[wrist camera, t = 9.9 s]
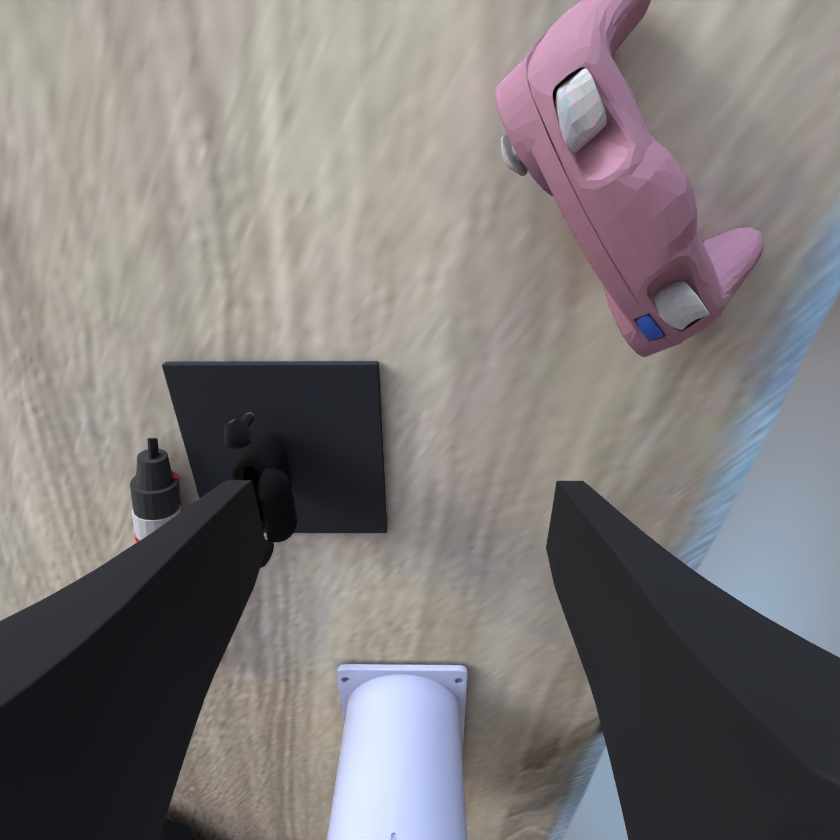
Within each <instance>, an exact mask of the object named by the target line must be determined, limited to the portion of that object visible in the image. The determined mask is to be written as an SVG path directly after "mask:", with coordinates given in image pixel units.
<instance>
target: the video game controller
mask: <svg viewBox="0 0 840 840" xmlns="http://www.w3.org/2000/svg"><path fill="white" fill-rule="evenodd" d="M650 1H651V0H583V1H581V2H580V3H578V4H577V5H576V6H574V7H573V8H571V9H570V10H568V11H567V12H565V13H564V14H563V15H562V16H561V17H560V18H559V19H558V20H557V21H556V22H555V23H554V24H553V25H552V26H551V27H550V29H549V30H548V31H547V32H546V33H545V35H544V36H543V37H542V38H541V39H540V40H539V42H538V43H537V44H536V45H535V46H534V47H533V49H532V50H531V51H530V52H529V53H528V55H527V56H526V57H525V58H524V59H523V60H522V61H521V62H520V63H519V64H518V65H517V66H516V67H515V68H514V69H513V70H512V72H511V73H510V74H509V75H508V76H507V77H506V78H505V79H504V80H503V81H502V82H501V83H500V84H499V85H498V86H497V88H496V103H497V106H498V109H499V112H500V116H501V119H502V122H503V125H504V128H505V131H506V134H507V136H506V135H504V136H503V137H502V138H501V149H502V155H503V159H504V161H505V163H506V164H507V166H508V167H509V168H510V169H511V170H513V171H514V172H515V173H518V174H519V175H521V176H524V175H526V174H527V170H528V171H529V173H530V174H531V175H532V177H533V178H534V179H535V180H536V182H537V183H538V184H539V185H540V186H541V187H542V188H543V189H544V190H545V191H546V192H547V193H549V194H550V195H551V196H553V197H554V198H555V200H556V202H557V204H558V206H559V208H560V210H561V212H562V214H563V216H564V218H565V220H566V222H567V224H568V225H569V227H570V229H571V231H572V233H573V234H574V236H575V238H576V240H577V241H578V243H579V245H580V247H581V249H582V250H583V252H584V254H585V256H586V257H587V259H588V261H589V262H590V264H591V266H592V267H593V269H594V270H595V272H596V274H597V275H598V277H599V279H600V280H601V282H602V284H603V287H604V290H605V294H606V297H607V300H608V303H609V307H610V309H611V311H612V314H613V316H614V319H615V321H616V323H617V325H618V327H619V329H620V332H621V334H622V335H623V337H624V338H625V340H626V341H627V343H628V344H629V346H630V347H631V348H632V349H633V350H634V351H635V352H636V353H637V354H639V355H640V356H643V357H646V356H649V355H651V354H654V353H657V352H659V351H662V350H665V349H667V348H670V347H673V346H675V345H678V344H680V343H682V342H683V341H684V340H686V339H688V338H690V337H691V336H693V335H695V334H697V333H699V332H700V331H702V330H704V329H705V328H706V327H708V326H709V325H710V324H712V323H713V322H714V321H715V320H716V319H717V318H718V317H719V316H720V314H721V313H722V311H723V310H724V308H725V306H726V305H727V303H728V302H729V300H730V298H731V297H732V295H733V294H734V293H735V291H736V290H737V289H738V287H739V286H740V285H741V283H742V282H743V281H744V279H745V278H746V277H747V275H748V274H749V273H750V271H751V270H752V269H753V267H754V266H755V264H756V263H757V261H758V260H759V258H760V256H761V254H762V251H763V238H762V234H761V232H760V231H757V230H755V229H752V228H748V227H741V228H736V229H733V230H730V231H727V232H725V233H723V234H719V235H717V236H714V237H712V238H710V239H708V240H706V241H704V242H702V240H701V238H700V236H699V233H698V229H697V209H696V204H695V199H694V194H693V190H692V187H691V185H690V182H689V180H688V177H687V175H686V172H685V171H684V170H683V168H682V167H681V166H680V165H679V163H678V162H677V161H676V159H675V158H674V157H673V156H672V154H671V153H670V152H669V151H668V150H667V149H666V148H665V147H664V146H662V145H661V144H660V143H659V142H658V141H657V140H656V139H655V138H653V137H652V134H651V132H650V130H649V128H648V126H647V124H646V121H645V119H644V117H643V115H642V113H641V111H640V109H639V106H638V104H637V102H636V100H635V98H634V96H633V94H632V91H631V90H630V88H629V86H628V84H627V83H626V81H625V79H624V77H623V76H622V74H621V72H620V70H619V69H618V67H617V65H616V64H615V62H614V60H613V58H612V57H613V55H614V53H615V52H616V50H617V48H618V47H619V46H620V45H621V43H622V42H623V41H624V40H625V38H626V37H627V36H628V35H629V34H630V32H631V31H632V30H633V29H634V27H635V26H636V25H637V24H638V23H639V21H640V20H641V19H642V18H643V16H644V15H645V13H646V11H647V9H648V6H649V4H650Z"/></svg>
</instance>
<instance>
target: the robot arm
mask: <svg viewBox="0 0 840 840" xmlns="http://www.w3.org/2000/svg"><path fill="white" fill-rule="evenodd" d="M265 549H266V543H265V539H264V534H263V529H262V525H261V520H260V515H259V511H258V506H257V501H256V496H255V492H254V487H253V482H252V480H226V481H225V482H223V483H222V484H220V485H218V486H217V487H215V488H214V489H212V490H211V491H210V492H208V493H207V494H205V495H204V496H203V497H201V498H200V499H198V500H197V501H196V502H194V503H193V504H191V505H190V506H189V507H187V508H186V509H185V510H183V511H182V512H180V513H179V514H178V515H176V516H175V517H173V518H172V519H170V520H169V521H168V522H166V523H165V524H163V525H162V526H161V527H159V528H158V529H156V530H155V531H154V532H152V533H151V534H149V535H148V536H146V537H145V538H143V539H142V540H140V541H139V542H137V543H136V544H134V545H133V546H131V547H130V548H128V549H126V550H125V551H123V552H122V553H120V554H119V555H117V556H116V557H114V558H113V559H111V560H110V561H108V562H107V563H105V564H104V565H102V566H100V567H99V568H97V569H95V570H94V571H92V572H90V573H89V574H87V575H85V576H84V577H82V578H80V579H79V580H77V581H75V582H73V583H72V584H70V585H68V586H66V587H65V588H63V589H61V590H59V591H57V592H56V593H54V594H52V595H50V596H49V597H47V598H45V599H43V600H41V601H39V602H37V603H35V604H33V605H31V606H29V607H27V608H25V609H23V610H21V611H19V612H17V613H15V614H13V615H11V616H9V617H7V618H5V619H3V620H1V621H0V840H159V839H160V836H161V832H162V829H163V826H164V822H165V819H166V815H167V812H168V808H169V805H170V802H171V799H172V796H173V792H174V789H175V786H176V783H177V780H178V777H179V774H180V770H181V767H182V764H183V761H184V758H185V755H186V752H187V748H188V746H189V743H190V740H191V737H192V734H193V731H194V728H195V725H196V722H197V719H198V716H199V713H200V711H201V708H202V705H203V702H204V699H205V697H206V694H207V692H208V689H209V687H210V684H211V682H212V679H213V677H214V675H215V672H216V670H217V668H218V666H219V664H220V661H221V659H222V657H223V655H224V653H225V650H226V648H227V646H228V644H229V642H230V639H231V637H232V635H233V633H234V631H235V628H236V626H237V624H238V622H239V620H240V617H241V615H242V613H243V611H244V608H245V606H246V604H247V602H248V599H249V597H250V595H251V592H252V590H253V588H254V585H255V582H256V579H257V576H258V573H259V570H260V566H261V563H262V559H263V556H264V552H265ZM546 549H547V554H548V558H549V563H550V568H551V572H552V577H553V581H554V585H555V589H556V592H557V595H558V597H559V600H560V603H561V606H562V609H563V612H564V614H565V617H566V620H567V623H568V626H569V628H570V631H571V634H572V637H573V639H574V642H575V645H576V648H577V651H578V653H579V656H580V659H581V662H582V664H583V667H584V670H585V673H586V675H587V678H588V681H589V684H590V687H591V691H592V694H593V697H594V700H595V703H596V707H597V711H598V715H599V719H600V723H601V726H602V730H603V734H604V738H605V742H606V746H607V750H608V754H609V758H610V762H611V766H612V770H613V774H614V779H615V783H616V787H617V791H618V795H619V799H620V804H621V808H622V812H623V817H624V821H625V826H626V830H627V835H628V839H629V840H840V658H839V657H837V656H835V655H833V654H832V653H830V652H828V651H826V650H824V649H822V648H820V647H818V646H816V645H814V644H813V643H811V642H809V641H807V640H805V639H803V638H802V637H800V636H798V635H796V634H795V633H793V632H791V631H789V630H788V629H786V628H784V627H782V626H780V625H779V624H777V623H775V622H773V621H772V620H770V619H768V618H766V617H765V616H763V615H761V614H760V613H758V612H757V611H755V610H753V609H751V608H750V607H748V606H747V605H745V604H743V603H742V602H740V601H739V600H737V599H736V598H734V597H733V596H731V595H729V594H728V593H726V592H725V591H723V590H722V589H720V588H718V587H717V586H715V585H714V584H712V583H711V582H710V581H708V580H707V579H705V578H704V577H702V576H701V575H699V574H698V573H697V572H695V571H694V570H692V569H691V568H690V567H688V566H687V565H686V564H684V563H683V562H682V561H680V560H679V559H677V558H676V557H675V556H673V555H672V554H671V553H669V552H668V551H667V550H665V549H664V548H663V547H662V546H660V545H659V544H658V543H656V542H655V541H654V540H653V539H651V538H650V537H649V536H648V535H646V534H645V533H644V532H643V531H642V530H640V529H639V528H638V527H637V526H636V525H634V524H633V523H632V522H631V521H630V520H628V519H627V518H626V517H625V516H624V515H622V514H621V513H620V512H619V511H618V510H617V509H616V508H614V507H613V506H612V505H611V504H610V503H609V502H607V501H606V500H605V499H604V498H603V497H602V496H600V495H599V494H598V493H597V492H596V491H595V490H593V489H592V488H591V487H590V486H589V485H587V484H586V483H585V482H584V481H557V483H556V489H555V495H554V502H553V508H552V514H551V521H550V527H549V533H548V539H547V546H546ZM467 677H468V674H467V668H466V667H465V666H462V665H400V664H342V665H340V666H339V667H338V670H337V679H338V686H339V693H340V700H341V707H342V714H343V721H344V731H343V738H342V744H341V751H340V758H339V764H338V771H337V777H336V784H335V790H334V797H333V803H332V810H331V816H330V823H329V829H328V836H327V840H467V827H466V811H465V795H464V779H463V762H462V753H463V739H464V723H465V708H466V692H467Z"/></svg>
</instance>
